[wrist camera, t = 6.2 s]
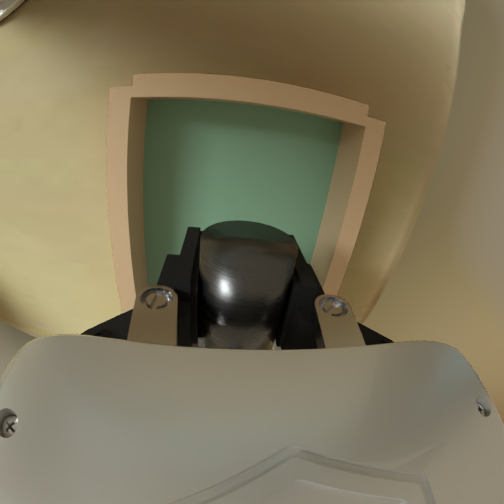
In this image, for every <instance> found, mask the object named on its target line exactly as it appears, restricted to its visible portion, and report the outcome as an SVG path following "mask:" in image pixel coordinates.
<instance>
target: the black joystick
mask: <svg viewBox="0 0 504 504" xmlns="http://www.w3.org/2000/svg"><path fill="white" fill-rule="evenodd" d="M297 254H298V245H297V243H296V241H295V240H294V239H293V238H292V237H291V236H290V235H288V234H287V233H285V232H284V231H282V230H280V229H278V228H275V227H273V226H270V225H266V224H263V223H258V222H252V221H242V220H234V221H224V222H219V223H215V224H213V225H211V226H209V227H207V228H206V229H205V230H204V231H203V232H202V233H201V238H200V259H199V295H198V347H200V348H216V349H242V350H272V348H273V344H274V341H275V337H276V334H277V330H278V327H279V323H280V320H281V316H282V312H283V309H284V305H285V301H286V297H287V294H288V290H289V286H290V282H291V278H292V274H293V270H294V266H295V262H296V258H297Z"/></svg>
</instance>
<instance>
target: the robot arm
mask: <svg viewBox="0 0 504 504" xmlns="http://www.w3.org/2000/svg"><path fill="white" fill-rule="evenodd" d="M24 1H25V0H0V21H1V20H2V19H4V18H5V17H7V16H8V15H9V14H10V13H12V12H13V11H14V10H15V9H16V8H17V7H19V6H20V5H21V4H22V3H23V2H24ZM202 232H203V231H201V228H200V227H188V229H187V232H186V235H185V239H184V242H183V246H182V249H181V253H180V255H175V254H167V256H166V259H165V262H164V265H163V268H162V271H161V273H160V276H159V279H158V282H157V285H152V286H149V287H146V288H144V289H142V290H141V291H140V292H139V293H138V294H137V296H136V299H135V303H134V308H133V309H131V310H129V311H127V312H125V313H122V314H120V315H118V316H116V317H114V318H112V319H110V320H108V321H105V322H103V323H101V324H99V325H97V326H95V327H93V328H90V329H88V330H86V331H85V332H83V333H82V334H81V335H79V334H57V335H50V336H44V337H40V338H37V339H34V340H31V341H30V342H28V343H26V344H25V345H24V346H23V347H22V348H21V349H20V350H19V351H18V352H17V353H16V355H15V356H14V358H13V359H12V361H11V362H10V364H9V365H8V367H7V369H6V371H5V372H4V374H3V376H2V378H1V380H0V504H504V424H503V422H502V420H501V418H500V416H499V414H498V412H497V410H496V408H495V406H494V404H493V402H492V400H491V398H490V396H489V394H488V392H487V391H486V389H485V387H484V386H483V384H482V382H481V380H480V379H479V377H478V375H477V374H476V372H475V371H474V369H473V368H472V367H471V365H470V364H469V362H468V361H467V360H466V359H465V357H464V356H463V355H462V354H461V353H460V352H459V351H458V350H457V349H456V348H454V347H452V346H450V345H447V344H444V343H439V342H433V341H407V342H396V343H395V342H393V341H392V340H390V339H388V338H386V337H384V336H382V335H380V334H379V333H377V332H375V331H373V330H371V329H369V328H367V327H366V326H364V325H362V324H360V323H358V322H357V321H356V318H355V316H354V313H353V311H352V308H351V306H350V305H349V303H348V302H347V301H346V300H344V299H342V298H341V297H338V296H336V295H331V294H325V293H324V291H323V289H322V287H321V284H320V282H319V280H318V278H317V276H316V274H315V272H314V270H313V268H312V266H311V265H310V264H307V262H306V260H305V258H304V256H303V254H302V252H301V250H300V248H299V246H298V254H297V258H296V262H295V266H294V270H293V274H292V278H291V282H290V286H289V290H288V294H287V297H286V301H285V305H284V309H283V312H282V316H281V320H280V323H279V327H278V330H277V334H276V337H275V341H276V345H277V347H281V350H242V349H216V348H200V347H192V344H197V343H198V295H199V259H200V238H201V233H202ZM290 236H291V237H292V238H293V239H294V240H295V241H296V239H295V237H294V236H293V235H290ZM296 243H297V241H296ZM297 245H298V244H297Z"/></svg>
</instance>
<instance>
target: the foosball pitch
mask: <svg viewBox="0 0 504 504" xmlns="http://www.w3.org/2000/svg"><path fill="white" fill-rule="evenodd" d="M368 110H369V105H367V104H364V103H361V102H357V101H354V100H351V99H348V98H344V97H341V96H337V95H334V94H330V93H326V92H322V91H318V90H314V89H310V88H305V87H301V86H296V85H291V84H286V83H280V82H275V81H268V80H262V79H255V78H247V77H239V76H229V75H217V74H200V73H146V74H133V82H132V86H121V87H110V91H109V101H108V114H107V133H106V185H107V205H108V218H109V229H110V239H111V248H112V255H113V263H114V269H115V276H116V282H117V288H118V293H119V298H120V303H121V308H122V313H125V312H127V311H129V310H131V309H133V308H134V303H135V299H136V296H137V294H138V293H139V292H140V291H141V290H142V289H144V288H146V287H149V286H152V285H157V282H158V279H159V276H160V273H161V271H162V268H163V265H164V262H165V259H166V256H167V254H175V255H180V253H181V249H182V246H183V242H184V239H185V235H186V232H187V229H188V227H200V228H201V231H204V230H205V229H206V228H207V227H209V226H211V225H213V224H215V223H219V222H224V221H234V220H242V221H252V222H258V223H263V224H266V225H270V226H273V227H275V228H278V229H280V230H282V231H284V232H285V233H287V234H288V235H293V236H294V237H295V239H296V241H297V244H298V246H299V248H300V250H301V252H302V254H303V256H304V258H305V260H306V262H307V264H310V265H311V266H312V268H313V270H314V272H315V274H316V276H317V278H318V280H319V282H320V284H321V287H322V289H323V291H324V293H325V294H331V295H336V296H337V294H338V292H339V289H340V286H341V283H342V281H343V278H344V275H345V272H346V270H347V267H348V264H349V261H350V258H351V255H352V252H353V249H354V246H355V243H356V240H357V236H358V233H359V230H360V227H361V223H362V220H363V217H364V213H365V210H366V206H367V203H368V199H369V195H370V192H371V188H372V184H373V180H374V176H375V172H376V168H377V164H378V159H379V155H380V150H381V146H382V141H383V136H384V131H385V126H386V122H384V121H381V120H378V119H375V118H372V117H369V116H368ZM192 347H198V343H197V344H192ZM272 350H281V347H277V345H276V341H274V344H273V348H272Z"/></svg>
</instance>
